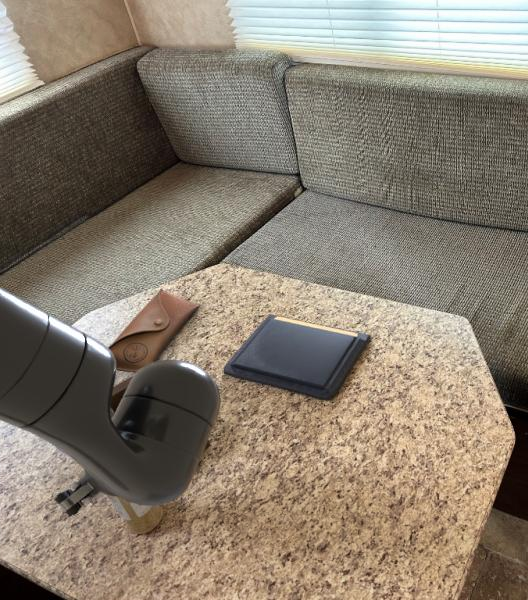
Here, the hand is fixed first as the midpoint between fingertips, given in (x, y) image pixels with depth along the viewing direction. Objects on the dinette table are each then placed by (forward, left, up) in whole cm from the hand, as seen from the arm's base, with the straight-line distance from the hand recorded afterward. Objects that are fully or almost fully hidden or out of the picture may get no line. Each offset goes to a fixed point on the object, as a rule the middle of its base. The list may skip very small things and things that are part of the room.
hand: (110, 469), depth 72 cm
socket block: (+7, +11, -9) cm, 16 cm away
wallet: (+31, +8, -10) cm, 34 cm away
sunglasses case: (+17, +31, -10) cm, 37 cm away
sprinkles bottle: (0, -2, -10) cm, 10 cm away
